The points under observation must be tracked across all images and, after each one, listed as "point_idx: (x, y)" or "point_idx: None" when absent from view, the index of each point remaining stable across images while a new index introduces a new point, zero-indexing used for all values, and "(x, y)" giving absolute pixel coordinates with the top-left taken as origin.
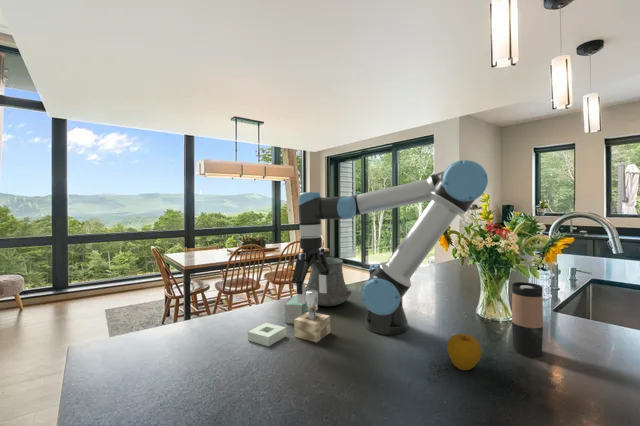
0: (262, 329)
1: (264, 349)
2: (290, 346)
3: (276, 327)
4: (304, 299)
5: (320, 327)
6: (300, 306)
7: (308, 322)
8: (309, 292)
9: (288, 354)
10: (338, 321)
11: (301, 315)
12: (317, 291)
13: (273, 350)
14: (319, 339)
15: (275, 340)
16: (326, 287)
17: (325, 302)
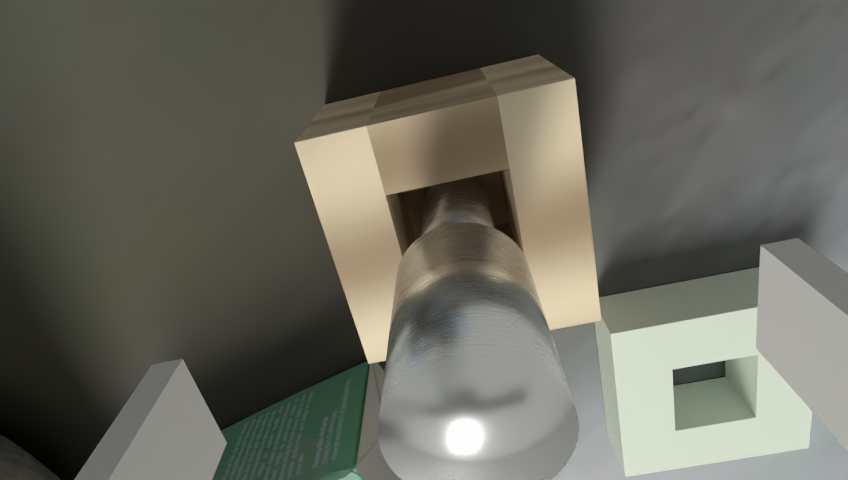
0: (717, 419)
1: (828, 249)
2: (704, 156)
3: (650, 377)
4: (841, 276)
5: (486, 85)
6: (365, 470)
7: (581, 175)
8: (536, 433)
9: (817, 69)
10: (119, 207)
11: (368, 406)
12: (398, 385)
13: (813, 196)
14: (495, 65)
15: (713, 282)
16: (111, 429)
17: (24, 467)
